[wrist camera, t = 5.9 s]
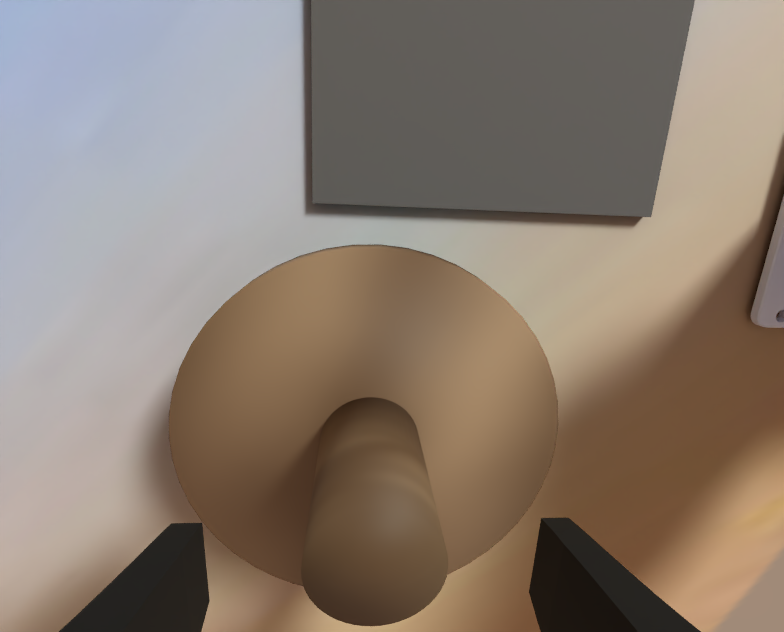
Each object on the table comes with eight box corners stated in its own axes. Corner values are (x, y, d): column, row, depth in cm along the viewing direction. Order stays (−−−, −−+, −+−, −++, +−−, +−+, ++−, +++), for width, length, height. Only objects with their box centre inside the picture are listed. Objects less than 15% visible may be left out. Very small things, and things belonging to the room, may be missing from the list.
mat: (726, -205, 13) (737, -217, 13) (644, 216, 16) (650, 216, 16) (310, -257, 12) (309, -272, 12) (313, 202, 15) (312, 203, 15)
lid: (577, 256, 12) (723, 303, 7) (518, 571, 15) (595, 755, 10) (166, 232, 11) (18, 268, 6) (191, 573, 14) (103, 777, 9)
